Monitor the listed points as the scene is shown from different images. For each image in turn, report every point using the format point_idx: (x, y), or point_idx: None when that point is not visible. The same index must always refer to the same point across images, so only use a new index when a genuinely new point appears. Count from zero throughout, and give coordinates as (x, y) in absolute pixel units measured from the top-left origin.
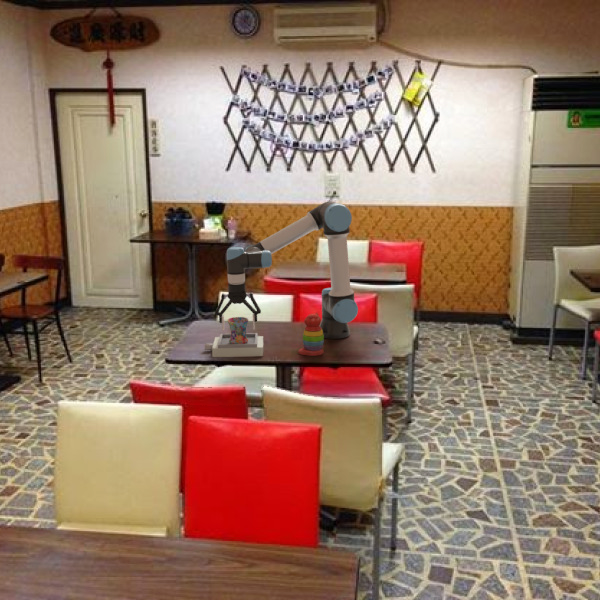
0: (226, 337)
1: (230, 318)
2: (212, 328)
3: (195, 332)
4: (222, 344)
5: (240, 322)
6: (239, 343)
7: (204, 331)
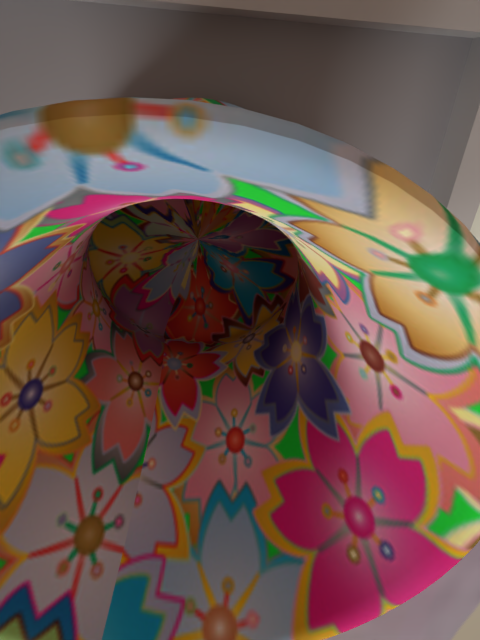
0: None
1: (384, 599)
2: (354, 636)
3: (460, 595)
4: (471, 9)
5: (4, 117)
6: (181, 99)
7: (407, 605)
